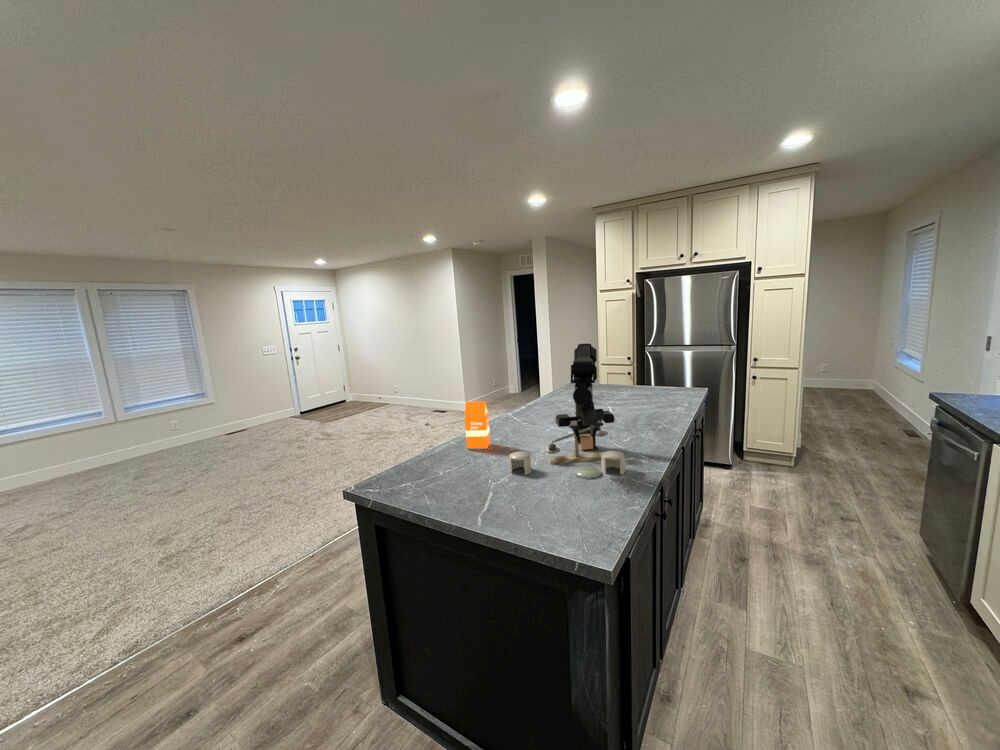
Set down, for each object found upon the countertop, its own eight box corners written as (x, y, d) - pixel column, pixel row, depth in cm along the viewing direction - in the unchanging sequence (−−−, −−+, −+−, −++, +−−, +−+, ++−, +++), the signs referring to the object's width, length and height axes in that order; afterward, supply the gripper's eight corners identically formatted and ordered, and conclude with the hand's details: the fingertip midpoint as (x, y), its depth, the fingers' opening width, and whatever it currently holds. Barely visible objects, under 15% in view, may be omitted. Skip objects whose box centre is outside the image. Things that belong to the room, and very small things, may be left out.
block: (578, 445, 137) (577, 434, 136) (589, 444, 137) (589, 433, 137) (581, 449, 133) (581, 438, 132) (593, 448, 133) (592, 437, 133)
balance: (547, 465, 146) (545, 430, 144) (544, 459, 152) (542, 426, 150) (610, 459, 148) (610, 425, 146) (605, 454, 153) (604, 421, 151)
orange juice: (470, 444, 176) (467, 399, 173) (490, 444, 174) (487, 399, 171) (467, 450, 168) (463, 404, 165) (487, 450, 167) (484, 403, 164)
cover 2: (599, 468, 141) (599, 451, 140) (619, 466, 141) (619, 450, 140) (606, 476, 133) (606, 459, 132) (627, 474, 134) (627, 457, 133)
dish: (572, 469, 141) (572, 467, 140) (595, 467, 141) (595, 465, 141) (578, 479, 132) (578, 477, 132) (604, 477, 133) (604, 475, 133)
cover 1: (509, 468, 146) (508, 452, 145) (529, 466, 146) (528, 450, 145) (511, 476, 139) (510, 459, 138) (532, 474, 139) (531, 457, 138)
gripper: (561, 405, 124) (563, 453, 127) (620, 401, 125) (621, 448, 128) (554, 398, 135) (556, 442, 138) (608, 394, 136) (609, 438, 139)
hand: (585, 443), depth 135 cm, fingers closed on block, 4 cm apart
